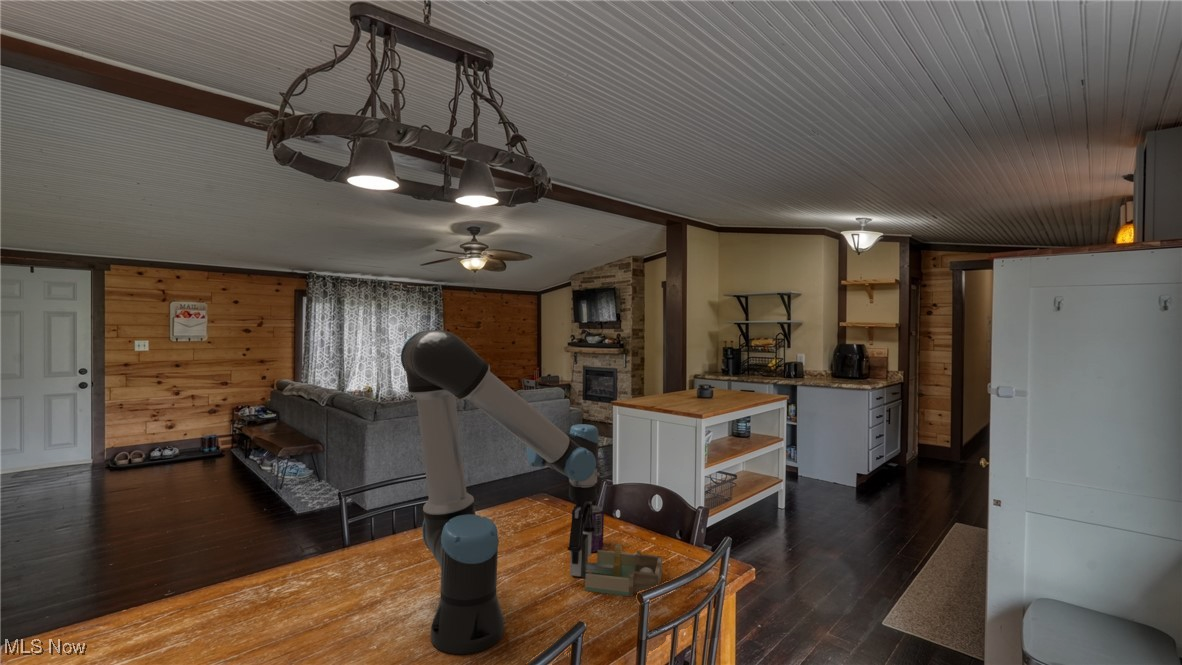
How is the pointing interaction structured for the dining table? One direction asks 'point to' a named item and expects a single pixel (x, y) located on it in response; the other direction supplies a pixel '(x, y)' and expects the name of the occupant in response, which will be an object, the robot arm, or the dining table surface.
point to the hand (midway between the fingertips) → (581, 565)
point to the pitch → (610, 582)
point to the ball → (646, 570)
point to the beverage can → (597, 529)
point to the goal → (642, 579)
